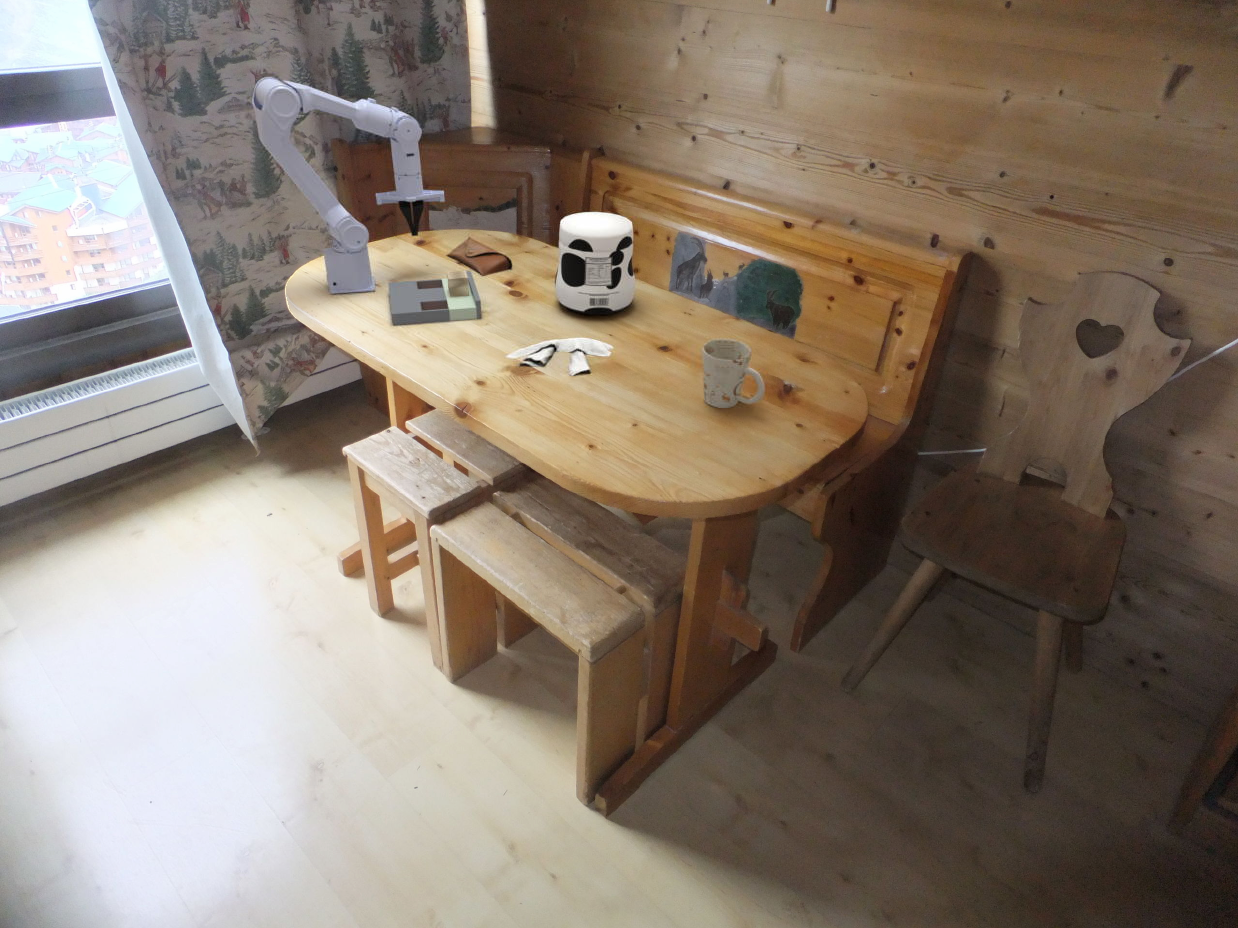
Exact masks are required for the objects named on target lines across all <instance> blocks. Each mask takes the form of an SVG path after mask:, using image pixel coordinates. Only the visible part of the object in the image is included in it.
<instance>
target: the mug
mask: <svg viewBox="0 0 1238 928" xmlns="http://www.w3.org/2000/svg"><path fill="white" fill-rule="evenodd" d="M701 355H702V377H703V379H702V381H703V399H704V402H705V403H706V404H707V405H709V406H711V407H714V408H718V409H729V408H733V407H735V406H736V405H737V404H738V402H741V403H743V404H746V405H751V404H752V405H753V404H755V403H757V402H759V401H761V400H762V398H763V397H764V395H765V392H766V391H765V390H766V389H765V388H766V387H765V386H766V385H765V382H764V380H763V376H761V374H760V372H758V371H757V370H755V369H754V368H752V367H749V365H750V360H751V358H752V349H751V347H749V346H748V345H747V344H746V343H744V342H742V341H739V340H737V339H732V338H717V339H711V340H709V341H707V342H705V343H704V344H703V346H702V354H701ZM746 375H748V376H751V377H752V378H753V379H754V381H755V382H756V385H757V392H756V393H755V395H753V397H751V398H746V397H743V396H741V392H742V389H743V385H744V382H745V378H746Z"/></svg>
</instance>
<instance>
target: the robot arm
mask: <svg viewBox="0 0 1238 928" xmlns="http://www.w3.org/2000/svg"><path fill="white" fill-rule="evenodd" d="M282 81H283V82H284V83H283V82H282ZM282 81H281V80H279V79H278V78H275V77H272V76H271V77H270V76H267V77H266V76H265V77H263V78H261V79H259V80H258V81H257V82H256V84H255V86H254V89H253V93H252V98H251V104H252V107H253V110H254V113H255V121H256V127H257V133H258V138H259V141H260V143H261V144H262V145H263V146H264V148H265V149H266V150H267V151H268V152H269V153H270V155H271V156H272V157H273V158H274V160H275V161H276V162H277V163H278V165H279V166H280V167H281V169H282V170H283V171H284V172H285V173H286V174H287V176H288V177H289V178H290V179H291V181H292V182H293V183H294V184H295V185H296V187H298V189H299V191H300V192H301V193H302V194H303V195H304V196H305V197H306V199H307V200H308V201H309V202H310V204H311V205H312V206H313V207H314V208H315V210H317V211H316V212H318V213H319V215H320V217H321V218H322V219H323V221H324V222H325V226H326V230H327V232H328V234H329V235H330V236H331V237H332V238H333V241H332V246H331V247H327V248H326V247H325V248H323V256H324V257H323V258H324V264H325V265H324V266H325V271H326V282H327V283H328V287H329V293H330V294H331V295H334V294H348V293H349V294H350V293H362V292H375V290H376V285H375V283H376V282H375V276H373V275H372V269H371V262H370V255H369V248H368V243H369V239H370V233H369V231H368V228H367V227H366V226H365V225H364V224H363V223H361V222H359V221H358V220H356V219H355V217H354V216H353V215H352V214H351V213H350V212H348V211H347V210H346V209H345V207H344V206H343V205H342V204H341V203H340V202H339V200H338V199H337V198H336V197H335V196H334V194H333V193H332V192H331V190H330V189H329V188H328V186H327V185H326V184H325V183H324V182H323V180H322V179H321V178H320V176H319V175H318V174H317V172H315V170H314V169H313V167H312V166H311V165H310V164H309V163H308V161H307V160H306V159H305V158H304V156H303V155H302V154H301V152H300V151H299V150H298V149H297V147H296V146H295V145H294V143H293V142H292V141H291V139H290V137H291V130H292V127H293V124H294V123H295V121H296V119H297V117H298V115H299V113H300V112H301V113H302V114H306V113H309V112H310V111H312V110H318V111H321V112H325V113H328V114H332V115H334V116H338V117H342V118H346V119H349V120H351V122H352V123H353V125H354V126H355V127H356V129H358V130H362V131H365V132H368V133H371V134H374V135H376V136H377V135H378V136H381V137H382V138H390V147H391V158H392V165H393V173H394V174H393V176H394V182H395V190H393V191H386V192H378V193H377V192H376V193H375V198H376V199H375V200H376V205H379V206H380V205H383V204H398V207H399V210H400V212H401V213H402V214H403V216H404V218H405V220H406V222H407V225H408V227H409V230H410V234H411V236H412V237H417V236H419V225H420V221H421V216H422V213H423V212H424V209H425V204H424V203H426V202H429V203H430V202H440V203H445V202H446V201H445V191H444V190H430V189H424V186H423V176H422V165H421V158H420V157H421V155H420V149H419V141H420V139H421V137H422V133H423V132H422V131H423V130H422V128H421V127H420V123H419V122H418V121H417V119H415V118H414V117H413V116H411V115H409V114H407V113H405V112H403V111H401V110H399V109H398V108H397V107H394V106H391V108H390V107H387V106H384V105H382V104H378V103H377V101H376V99H373V98H370V97H368V98H367V99H363V98H361V99H358V100H357V101H355V102H351V101H349V100H346V99H343V98H341V97H338V96H336V95H333V94H330V93H327V92H325V91H321V90H320V89H317V88H314V87H312V86H309V85H305V84H302V83H297V82H293V81H289V80H282Z"/></svg>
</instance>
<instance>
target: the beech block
mask: <svg viewBox="0 0 1238 928" xmlns="http://www.w3.org/2000/svg"><path fill="white" fill-rule="evenodd" d="M466 271H467V270H459V271H447V272H446V277H447V278H446V279H448V290H449V294H450V297H458V296H469V284H468V276H467V273H466Z"/></svg>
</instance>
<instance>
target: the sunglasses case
mask: <svg viewBox="0 0 1238 928" xmlns="http://www.w3.org/2000/svg"><path fill="white" fill-rule="evenodd" d="M467 237H468V238H467V239H465V240H464V241H462V242H461V244H458V246H456V247H455V248H454V249H452V250H451V251H450V252H449V253H446V254H445V256H446V257H448V258H451V259H453V260H455V261H458V262H459V263H461V264H463V265H465V266H466V267H468V268H470V269H471V270H473V271H475V272H476V273H478V274H479V275H480V276H484V277H486V276H489V275H493V274H497V273H501V272H506V271H511V270H512V268H513V262H512V260H511V258H509V256H507V255H506V254H504V253H501V252H499V251H498V250H495V249H493V248H491V247H490V246H488V245H486V244H484V243H482V242H480V241H477V240H476V239H473V238H472V237H471V236H469V235H468V236H467Z"/></svg>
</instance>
